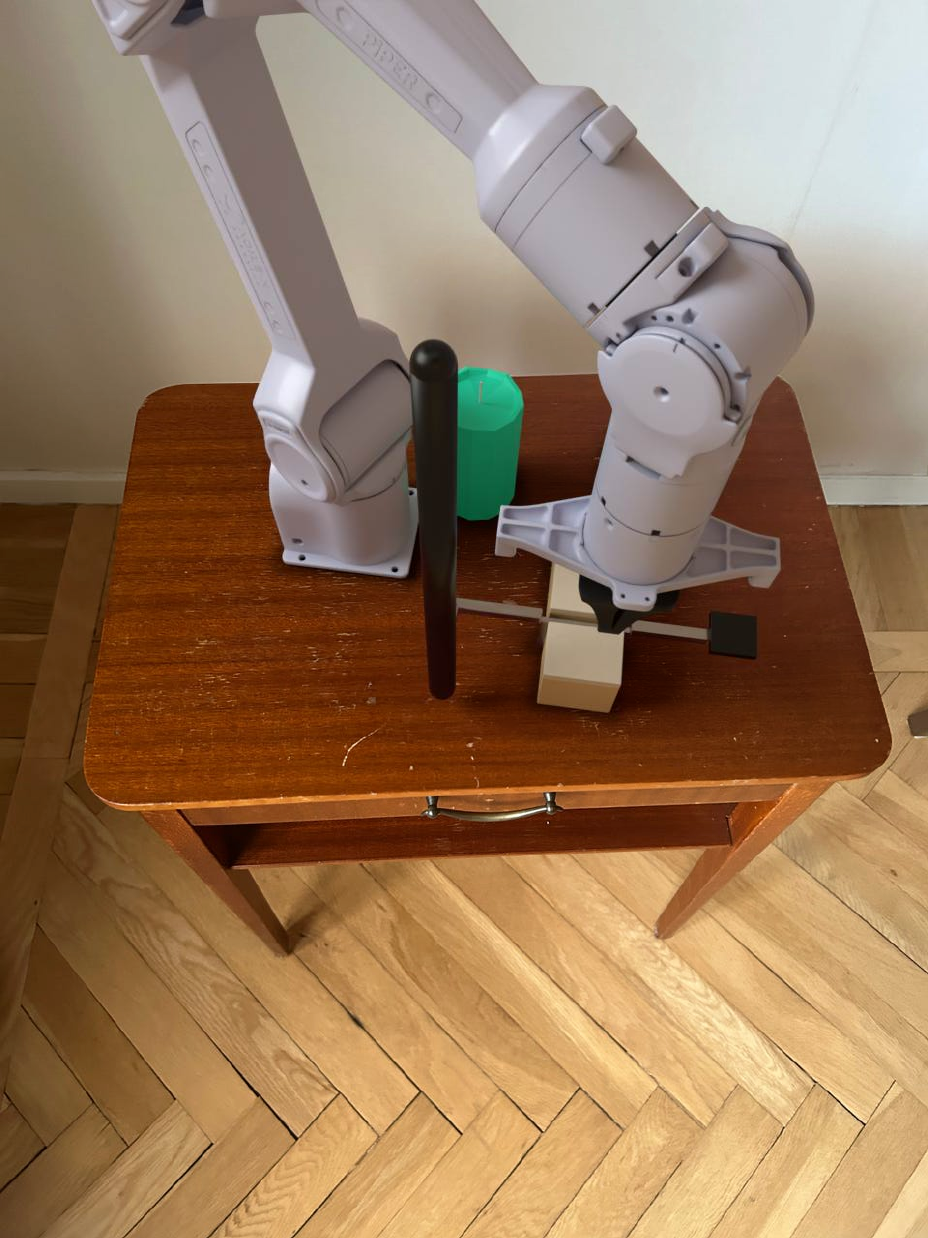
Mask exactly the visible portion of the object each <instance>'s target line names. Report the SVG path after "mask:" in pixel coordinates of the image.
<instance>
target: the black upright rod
mask: <svg viewBox="0 0 928 1238" xmlns="http://www.w3.org/2000/svg"><path fill="white" fill-rule="evenodd" d="M408 360H409V372H410V388H411V404H412V420H413V425H412V437H413V451H414V452H413V453H414V468H415V482H416V488H417V501H418V517H419V522H418V530H419V533H418V534H419V547H420V563H421V578H422V580H421V581H422V597H423V611H424V614H423V615H424V624H425V625H424V628H425V644H426V645H425V646H426V660H427V676H428V690H429V692H430V694H431V696H432V697H433V698H435V699H437V700H438V701H439V700H440V701H445V700H449V699H450V698H451V697H453V696H454V694H455V693H456V689H457V622H458V617H459V614H465V615H472V616H479V617H487V618H496V619H503V620H511V621H519V622H520V621H521V622H525V623H526V622H527V623H533V624H534V623H535V624H539V628H538V633H537V638H536V643H535V647H536V648H541V649H543V648H544V643H545V638H546V634H547V629H548V624H549V622H558V623H565V624H573V625H581V626H589V627H598V624H597V623H590V622H582V621H574V620H566V619H558V618H550V617H546V616H543V608H541V607H533V606H527V605H517V604H511V603H503V602H495V601H487V600H479V599H472V598H465V597H464V598H463V597H457V592H458V591H457V582H458V581H457V579H458V578H457V575H458V574H457V573H458V571H457V569H458V566H457V565H458V561H457V560H458V515H457V453H458V371H459V361H458V360H459V359H458V355H457V354H456V352H455V350H454V348H453V347H452V346H451V345H450V344H449V343H448V342H445V341H444V340H441V339H439V338H428V339H425V340H423V341H421V342H419V343H417V344H416V345H415V347H414V348H413V350H412V351H411V353H410V356H409V359H408ZM757 619H758V616H757V615H750V614H741V613H735V612H734V613H733V612H727V611H720V610H719V611H718V610H711V611H710V612H709V613H708V628H701V627H700V628H699V627H694V626H685V625H678V624H671V623H663V622H662V623H661V622H655V621H646V620H640V619H639V620H638V621H636V622H635V623H633V624H632V625H630V626H629V627H628V628H626V629H625V630H624V645H623V650H624V649H625V646H626V644H627V641H628V640H629V636H633V637H634V636H636V637H643V638H651V639H658V640H665V641H666V640H667V641H675V642H682V643H689V644H690V643H691V644H696V645H697V644H699V645H706V644H707V642H708V655H711V656H718V657H719V656H721V657H725V658H736V659H743V660H750V661H755V660H757V658H758V622H757Z"/></svg>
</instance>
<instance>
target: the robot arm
mask: <svg viewBox="0 0 928 1238" xmlns="http://www.w3.org/2000/svg"><path fill="white" fill-rule="evenodd" d="M91 2H92V4H93V6H94V9H95V11H96V12H97V15H98V17H99V20H100V21H101V22H102V23H103V25H104V27H105V29H106V32H107V33H108V35H109V37H110V39H111V42H112V44H113V47H114V48H115V50H116V51H117V53H119V55H121V56H123V57H129V56H131V57H132V56H138V57H139V60H140V62H141V63H142V66H143V68H144V70H145V73H146V75H147V77H148V79H149V81H150V83H151V85H152V87H153V90H154V92H155V94H156V96H157V98H158V101H159V103H160V106H161V107H162V110H163V112H164V114H165V116H166V118H167V120H168V122H169V125H170V127H171V129H172V131H173V133H174V136H175V138H176V140H177V142H178V144H179V146H180V149H181V151H182V153H183V155H184V157H185V160H186V161H187V164H188V166H189V169H190V171H191V173H192V175H193V177H194V179H195V182H196V183H197V186H198V188H199V190H200V193H201V194H202V196H203V199H204V201H205V203H206V206H207V207H208V210H209V212H210V214H211V216H212V219H213V220H214V223H215V224H216V225H215V226H216V227H217V229H218V231H219V233H220V236H221V238H222V240H223V243H224V244H225V247H226V249H227V252H228V254H229V255H230V257H231V260H232V262H233V264H234V266H235V268H236V271H237V272H238V275H239V277H240V280H241V281H242V283H243V286H244V288H245V291H246V293H247V295H248V296H249V299H250V301H251V303H252V305H253V308H254V310H255V312H256V314H257V316H258V319H259V321H260V323H261V325H262V327H263V330H264V331H265V334H266V336H267V338H268V340H269V342H270V345H271V353H270V355H269V358H268V361H267V364H266V366H265V369H264V371H263V374H262V376H261V379H260V382H259V383H258V387H257V390H256V392H255V395H254V397H253V401H252V406H253V408H254V411H255V412H256V415H257V418H258V420H259V422H260V425H261V428H262V431H263V441H264V448H265V451H266V453H267V457H268V458H269V460H270V467H269V477H268V492H269V493H268V494H269V495H268V496H269V502H270V507H271V510H272V513H273V516H274V520H275V523H276V526H277V530H278V532H279V536H280V538H281V542H282V545H283V549H284V550H283V553H282V560H283V563H284V564H286V565H292V566H298V567H299V566H300V567H306V568H307V567H309V568H316V569H324V570H332V571H339V572H347V573H355V574H363V575H370V576H378V577H379V576H380V577H387V578H395V579H406V578H407V577H408V576H409V572H410V567H411V562H412V557H413V552H414V547H415V542H416V536H417V533H418V528H419V517H418V501H417V487H416V488H415V487H410V486H409V485H410V484H409V476H408V475H409V473H408V462H407V461H408V460H407V447H408V444H409V443H410V441H411V440H412V439H413V433H412V426H413V420H412V404H411V388H410V372H409V360H410V359H409V358H408V357H407V355H406V353H405V351H404V350H403V348H402V345H401V342H400V337H399V335H398V334H397V333H396V332H395V331H393V330H392V329H391V328H389V327H387V326H385V325H384V324H381V323H380V322H377V321H375V320H372V319H369V318H366V317H361V316H358V315H357V313H356V310H355V306H354V304H353V301H352V299H351V296H350V293H349V290H348V287H347V284H346V282H345V279H344V276H343V273H342V270H341V268H340V264H339V263H338V259H337V257H336V254H335V251H334V248H333V245H332V243H331V240H330V237H329V234H328V232H327V229H326V226H325V224H324V219H323V218H322V214H321V212H320V209H319V207H318V204H317V201H316V198H315V195H314V193H313V190H312V187H311V184H310V182H309V179H308V176H307V173H306V171H305V167H304V165H303V161H302V159H301V157H300V153H299V151H298V147H297V146H296V142H295V140H294V139H295V138H294V137H293V134H292V132H291V128H290V126H289V124H288V120H287V118H286V115H285V111H284V109H283V106H282V104H281V101H280V98H279V95H278V92H277V89H276V87H275V84H274V82H273V78H272V76H271V73H270V70H269V68H268V65H267V62H266V59H265V56H264V53H263V50H262V48H261V45H260V42H259V40H258V36H257V31H256V28H257V24H258V22H259V20H260V17H265V16H276V15H289V14H301V13H303V14H309V15H311V16H312V17H313V18H314V19H315V20H316V21H317V22H319V23H320V24H321V25H322V26H323V27H324V28H325V29H326V30H327V31H328V32H329V33H331V34H332V36H334V37H335V38H336V39H337V40H338V41H339V42H340V43H341V44H343V45H344V46H345V47H346V48H347V49H348V50H349V51H350V52H351V53H353V54H354V55H355V56H356V57H357V58H358V59H359V61H361V62H362V63H363V64H364V65H365V66H367V67H368V68H369V69H370V70H371V71H372V72H373V73H374V74H375V75H377V76H378V78H380V79H381V80H382V81H383V82H384V83H385V84H386V85H387V86H388V87H390V88H391V90H393V91H394V92H395V93H396V94H398V96H400V97H401V98H402V99H403V100H404V101H405V102H406V103H407V104H409V105H410V107H412V108H413V109H414V110H415V111H416V112H417V113H418V114H419V115H420V116H421V117H423V118H424V119H425V120H426V121H427V122H428V124H430V125H431V126H432V127H434V128H435V129H436V130H437V131H438V132H439V133H440V134H441V135H442V136H443V137H444V138H445V139H447V140H448V141H449V142H450V143H451V144H452V145H453V146H454V147H455V148H457V149H458V150H459V152H461V153H462V154H463V155H464V156H465V157H466V158H467V159H468V160H470V162H471V163H472V166H473V170H474V175H475V185H476V196H477V209H478V214H479V217H480V220H481V221H482V222H483V223H484V224H485V225H486V227H488V228H489V229H490V231H491V232H492V233H493V234H494V235H495V236H496V237H497V238H498V239H499V240H500V241H501V242H502V243H503V244H504V245H505V246H506V247H507V249H509V250H510V252H511V253H512V254H513V255H514V256H515V257H516V258H517V259H518V260H519V261H520V262H521V263H522V264H523V265H524V267H526V269H527V270H528V271H529V272H530V273H531V274H532V275H533V276H534V277H535V278H536V279H537V280H538V281H539V282H540V284H542V286H543V287H544V288H545V289H546V290H547V291H549V293H550V294H551V295H552V296H553V297H554V298H555V299H556V300H557V301H558V302H559V303H560V305H561V306H562V307H563V308H564V309H565V311H567V312H568V314H569V315H571V316H572V317H573V318H574V320H576V322H577V323H579V325H580V326H581V327H582V328H585V327H586V326H587V325H588V324H589V323H590V322H591V321H592V320H593V319H594V320H593V321H592V322H591V323H590V324H589V325H588V326H587V327H586V328H585V331H586V332H587V333H588V335H590V336H591V337H592V338H593V340H594V341H595V342H596V343H597V344H598V345H599V346H600V347H601V348H602V349H599V350H598V352H597V360H596V362H597V364H596V367H597V375H598V378H599V379H598V380H599V382H600V385H601V387H602V391H603V394H604V395H605V397H606V399H607V401H608V403H609V405H610V407H611V415H610V418H609V423H608V425H607V430H606V434H605V437H604V443H603V446H602V451H601V455H600V459H599V463H598V466H597V470H596V474H595V478H594V483H593V487H592V490H591V491H592V492H591V494H589V495H584V496H579V497H571V498H567V499H562V500H556V501H551V502H545V503H539V504H538V503H537V504H532V505H509V506H506V505H501V507H500V514H498V521H497V529H496V537H495V538H496V539H495V550H494V555H495V556H497V557H505V558H506V557H507V558H513V557H515V556H516V553H517V549H520V550H524V551H526V552H529V553H532V554H534V555H536V556H538V557H540V558H543V559H545V560H546V561H549V562H551V563H552V562H554V563H556V564H558V565H560V566H563V567H565V568H567V569H569V570H572V571H574V572H576V573H578V574H579V585H578V587H579V594H580V598H581V601H582V602H584V603H586V604H588V605H589V606H590V607H591V608H592V609H593V611H594V613H595V615H596V618H597V621H598V627H597V631H598V632H600V633H608V634H616V635H619V634H620V633H622V632H623V631H624V630H625V629H626V628H628V627H629V628H630V627H631V625H632V624H633V623H635V622H636V621H638V620H639V621H640V620H641V619H643V618H646V617H649V616H652V615H655V614H662V613H671V611H672V610H674V608H675V607H676V605H677V603H678V601H679V599H680V595H681V594H680V593H681V590H682V589H687V588H693V587H697V586H702V585H708V584H714V583H719V582H725V581H729V580H734V579H741V578H747V581H748V584H749V585H750V586H751V587H754V588H764V589H769V588H770V587H771V585H772V584H773V582H774V581H775V580H776V578H777V576H778V575H779V573H780V572H781V570H782V566H781V565H782V564H781V541H780V540H781V539H780V537H775V536H771V535H770V536H769V535H764V534H760V533H756V532H752V531H751V530H748V529H745V528H742V527H740V526H737V525H735V524H732V523H730V522H727V521H725V520H722V519H720V518H718V517H715V516H713V514H712V513H713V512H714V510H715V508H716V505H717V504H718V502H719V499H720V497H721V495H722V493H723V491H724V489H725V486H726V484H727V482H728V480H729V478H730V477H731V476H730V475H731V473H732V471H733V469H734V467H735V465H736V463H737V461H738V458H739V456H740V454H741V452H742V450H743V448H744V446H745V442H746V439H747V433H748V432H749V430H750V428H751V426H752V422H753V418H754V415H755V413H756V411H757V409H758V407H759V405H760V402H761V400H762V398H763V396H764V393H765V392H766V391H767V390H768V388H769V387H770V386H771V384H772V383H773V382H774V380H775V379H776V378H777V377H778V375H779V374H781V372H782V370H783V369H784V368H785V367H786V365H788V363H789V362H790V361H791V359H792V358H793V357H794V356H795V354H797V352H798V351H799V349H800V348H801V345H802V343H804V339H805V338H806V337H807V336H808V333H809V332H810V330H811V327H812V324H813V321H814V316H815V307H816V305H815V304H816V303H815V296H814V295H815V294H814V291H813V287H812V284H811V283H812V282H811V281H810V278H809V276H808V274H807V272H806V271H805V269H804V267H803V265H802V264H801V263H800V261H798V260H797V258H796V257H795V254H794V251H793V249H792V248H791V245H790V244H789V243H787V242H786V241H785V240H784V239H782V238H780V237H778V236H777V235H775V234H774V233H771V232H769V231H767V230H765V229H762V228H759V227H756V226H752V225H747V224H740V223H736V222H734V221H731V220H730V219H728V218H727V217H726V216H725V215H724V214H723V213H722V212H721V211H720V210H719V209H717V208H716V210H714V211H713V210H712V209H711V208H710V207H709V206H704V207H703V208H702V209H701V210H700V206H699V205H698V204H697V203H696V201H694V199H692V197H691V196H690V195H689V194H688V193H687V192H686V191H685V190H684V188H682V186H681V185H680V184H679V183H678V182H677V181H676V179H674V178H673V176H672V175H671V174H670V173H669V171H667V170H666V168H665V167H663V165H662V164H661V163H660V162H659V161H658V160H657V159H656V157H655V156H654V155H653V154H652V153H651V152H650V151H649V150H648V148H647V147H646V146H645V145H644V144H643V142H641V141H640V139H638V137H637V136H638V128H637V127H636V126H635V124H633V122H632V121H631V120H630V119H629V118H628V117H627V115H626V114H625V113H624V112H623V111H622V110H621V109H620V107H619V106H617V105H616V104H611V105H607V103H606V102H605V101H604V100H603V99H602V98H601V96H600V95H599V93H597V92H596V91H595V89H594V88H592V87H589V86H586V85H560V84H559V85H557V84H543V83H539V82H538V80H537V79H536V77H535V76H534V75H533V74H532V73H531V71H530V70H529V69H528V67H527V66H526V65H525V64H524V62H523V60H522V59H520V57H519V55H518V54H517V53H516V52H515V51H514V49H513V48H512V47H511V45H510V44H509V43H508V42H507V40H506V39H505V38H504V36H502V34H501V33H500V32H499V30H498V28H496V26H495V25H494V24H493V22H492V21H491V20H490V18H489V17H488V16H487V14H485V11H483V9H481V7H480V6H479V4H478V3H477V2H476V0H91ZM699 210H700V211H699ZM698 211H699V212H698ZM697 212H698V213H697ZM695 214H696V215H695ZM694 215H695V216H694ZM693 216H694V217H693ZM691 218H692V219H691ZM690 219H691V220H690ZM689 220H690V221H689ZM688 221H689V222H688ZM687 222H688V223H687ZM685 224H686V225H685ZM684 225H685V226H684ZM682 227H683V228H682ZM681 228H682V229H681ZM678 231H679V232H678ZM677 232H678V233H677ZM604 308H605V309H604ZM599 313H600V314H599ZM595 317H596V318H595ZM410 494H411V495H410ZM302 558H303V559H304V560H302ZM394 570H397V571H396V572H395V571H394Z"/></svg>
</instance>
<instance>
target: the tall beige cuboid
mask: <svg viewBox="0 0 928 1238" xmlns="http://www.w3.org/2000/svg"><path fill="white" fill-rule="evenodd" d="M550 568H551V569H550V577H549V588H548V596H547V604H546V605H547V606H546V615H545V617H550V618H558V619H566V620H574V621H582V622H590V623H597V624H598V621H597V618H596V615H595V613H594V611H593V609H592V608H591V607H590V606H589V605H588V604H586V603H584V602H582V601H581V598H580V594H579V587H578V585H579V574H578V573H576V572H574V571H572V570H569V569H567V568H565V567H563V566H560V565H558V564H556V563H554V562H551V567H550Z"/></svg>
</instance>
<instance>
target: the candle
mask: <svg viewBox="0 0 928 1238" xmlns="http://www.w3.org/2000/svg"><path fill="white" fill-rule="evenodd" d="M524 407H525V404H524V399H523V393H522V390H521V388H519V386H518V384H517V383H516V382H515V380H514V378H513V377H512V376H511V375H510V374H509V373H507V372H503V371H500V370H496V369H491V368H485V367H477V366H464V367H462V368H460V369H458V453H457V517H460V518H463V519H465V520H467V521H485V520H491V519H493V518H494V517H497V516H499V514H500V507H501V505H506V506H510V504H511V502H512V500H513V499H514V497H515V491H516V482H517V472H518V463H519V453H520V446H521V445H520V444H521V434H522V426H523V425H522V424H523V416H524Z"/></svg>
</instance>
